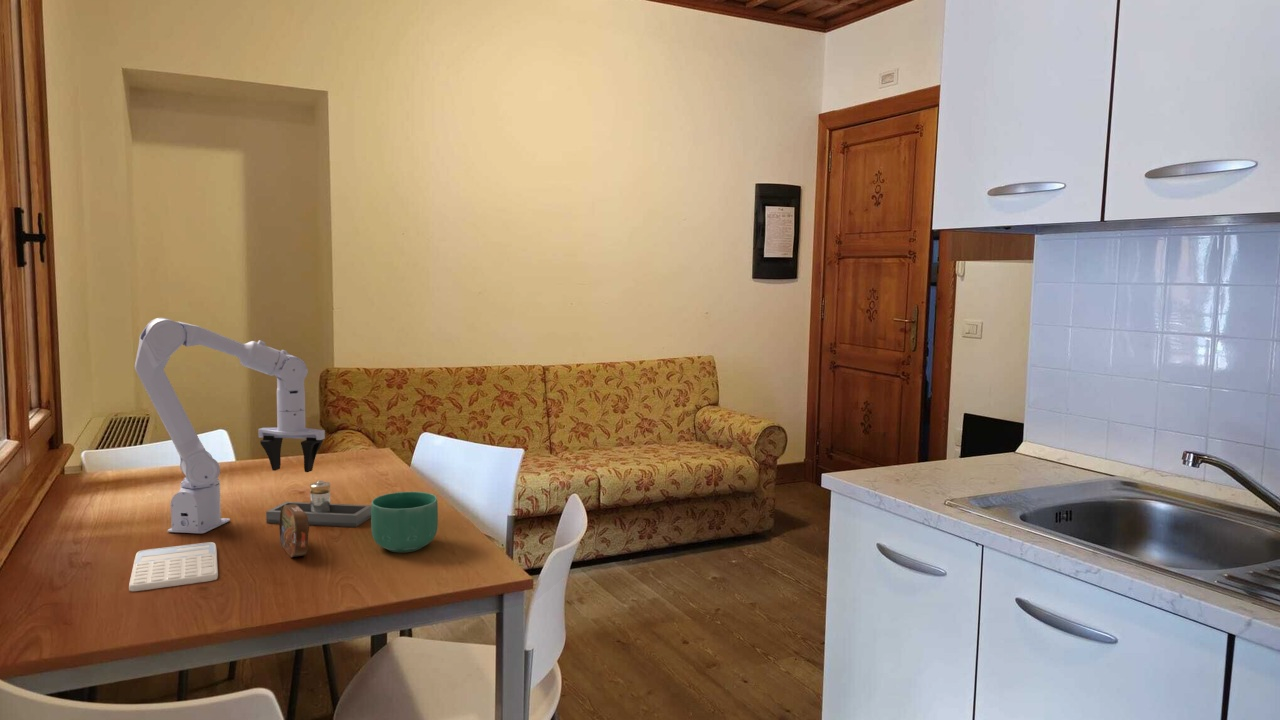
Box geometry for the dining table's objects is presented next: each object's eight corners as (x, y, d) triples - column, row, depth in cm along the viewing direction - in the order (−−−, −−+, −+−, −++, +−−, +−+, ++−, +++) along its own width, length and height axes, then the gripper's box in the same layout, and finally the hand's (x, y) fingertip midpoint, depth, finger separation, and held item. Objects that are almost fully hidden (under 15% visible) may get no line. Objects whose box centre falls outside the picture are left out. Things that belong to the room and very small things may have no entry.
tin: (278, 541, 165) (277, 500, 164) (295, 539, 167) (294, 498, 166) (293, 563, 153) (292, 518, 152) (312, 560, 154) (311, 516, 154)
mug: (443, 553, 160) (442, 504, 159) (374, 560, 155) (374, 511, 154) (429, 529, 175) (429, 484, 174) (366, 535, 170) (366, 490, 169)
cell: (326, 518, 178) (325, 484, 177) (307, 518, 178) (306, 483, 178) (333, 513, 182) (333, 479, 181) (315, 512, 182) (314, 478, 182)
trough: (356, 527, 175) (356, 515, 175) (266, 522, 177) (266, 511, 177) (372, 516, 183) (372, 505, 183) (286, 512, 185) (286, 501, 185)
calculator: (128, 595, 138) (127, 584, 137) (136, 558, 155) (135, 548, 155) (218, 583, 144) (218, 572, 144) (216, 549, 161) (216, 539, 161)
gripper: (331, 408, 186) (332, 468, 187) (270, 405, 188) (271, 465, 189) (315, 413, 179) (316, 475, 180) (252, 410, 181) (253, 471, 182)
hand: (292, 470), depth 184 cm, fingers open, 7 cm apart
